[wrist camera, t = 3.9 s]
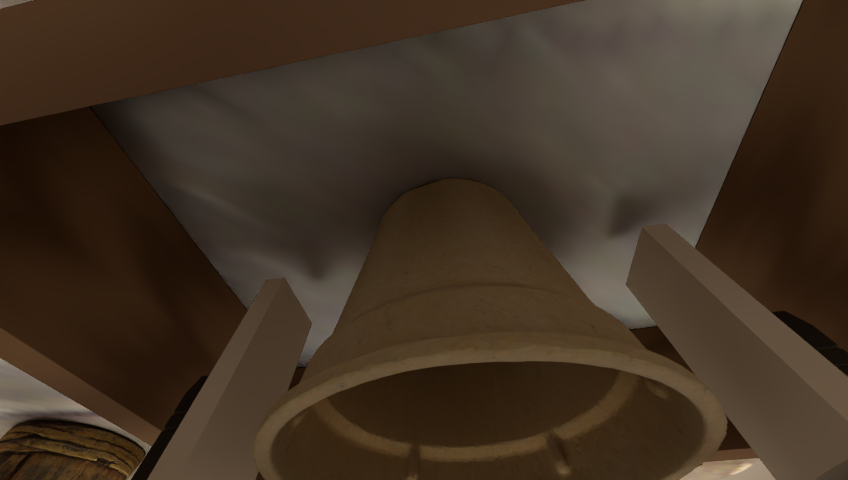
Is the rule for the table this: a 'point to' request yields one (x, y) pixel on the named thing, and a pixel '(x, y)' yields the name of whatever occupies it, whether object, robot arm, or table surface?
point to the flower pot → (482, 366)
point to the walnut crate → (283, 44)
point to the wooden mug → (66, 453)
